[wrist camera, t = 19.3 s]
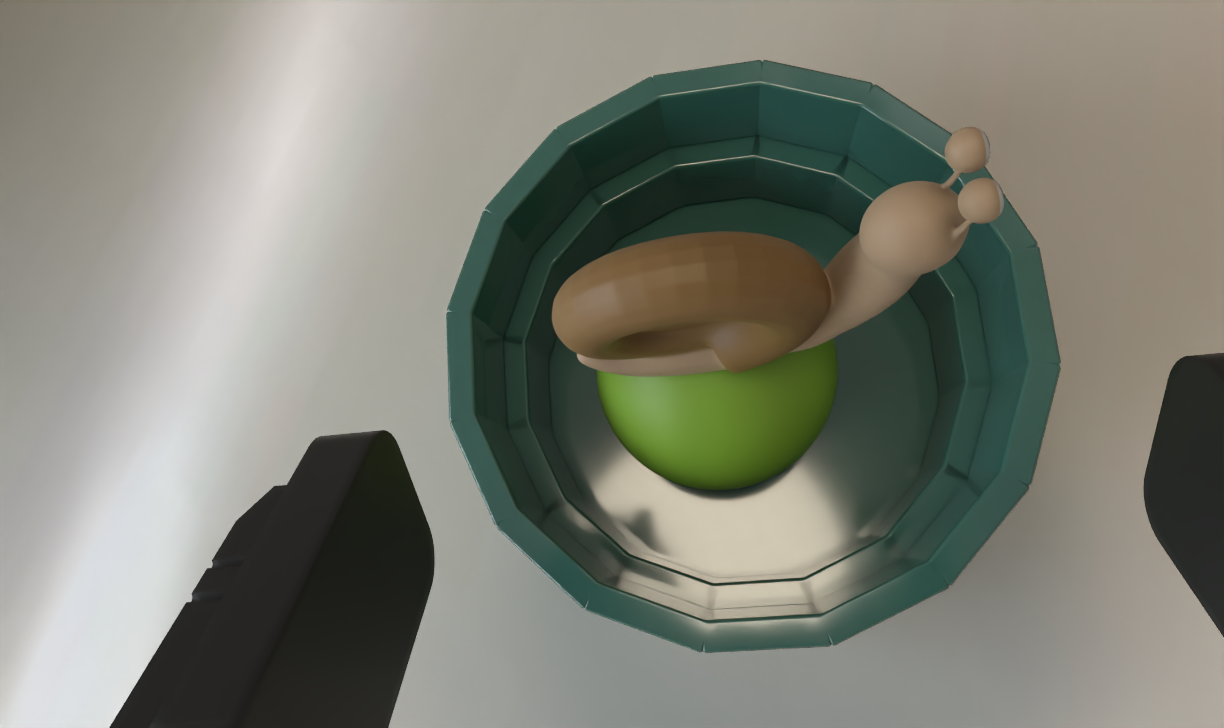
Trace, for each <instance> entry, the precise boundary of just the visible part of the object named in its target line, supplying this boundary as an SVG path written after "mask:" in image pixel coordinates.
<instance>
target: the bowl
mask: <svg viewBox="0 0 1224 728" xmlns="http://www.w3.org/2000/svg"><path fill="white" fill-rule="evenodd" d="M556 129H557V130H556ZM556 129H554V130H553V131H552V132H551V133H550V135H549V136H548V137H547V138H546V139H545V140H544V141H543V142H542V144H541V145H540V146H539V147H538V148H537V149H536V150H535V152H534V153H533V154H532V155H531V156H530V157H529V158H528V160H527V161H526V162H525V163H524V164H523V165H522V166H521V168H520V169H519V170H518V171H517V172H516V173H515V174H514V176H513V177H512V178H511V179H510V180H509V181H508V182H507V184H506V185H505V186H504V187H503V188H502V189H501V190H500V192H499V193H498V194H497V195H496V196H495V197H494V198H493V200H492V201H491V202H490V203H489V204H488V205H487V206H486V208H485V211H483V213H482V216H481V219H480V221H479V224H478V227H477V229H476V232H475V235H474V238H473V240H472V243H471V246H470V248H469V251H468V254H467V257H466V259H465V262H464V265H463V267H462V270H461V273H460V276H459V278H458V281H457V284H456V286H455V289H454V292H453V295H452V297H451V300H450V303H449V305H448V308H447V311H448V312H447V314H446V320H447V356H448V392H449V419H450V421H451V423H450V424H451V427H452V430H453V432H454V434H455V436H456V439H457V441H458V443H459V445H460V448H461V450H462V452H463V454H464V457H465V459H466V461H467V463H468V466H469V468H470V470H471V472H472V474H473V477H474V479H475V481H476V483H477V486H478V488H479V490H480V492H481V495H482V497H483V499H484V501H485V504H486V506H487V508H488V510H489V513H490V515H491V517H492V519H493V522H494V524H495V525H496V526H497V528H498V530H499V531H500V532H502V533H503V534H504V535H505V536H506V537H507V538H508V539H509V540H510V541H511V542H512V543H513V544H514V545H515V546H517V547H518V548H519V549H520V550H521V551H522V552H523V553H524V554H525V555H526V556H527V557H528V558H529V559H530V560H531V561H533V562H534V563H535V564H536V565H537V566H538V567H539V568H540V569H541V570H542V571H543V572H544V573H545V574H546V575H547V576H549V577H550V578H551V579H552V580H553V581H554V582H555V583H556V584H557V585H558V586H559V587H560V588H561V589H562V590H563V591H565V592H566V593H567V594H568V595H569V596H570V597H571V598H572V599H573V600H574V601H575V602H576V603H577V604H578V605H579V606H581V607H582V608H585V610H586V611H589V612H591V613H594V614H597V615H600V616H602V617H605V618H608V619H610V620H613V621H616V622H619V623H621V624H624V625H627V626H629V627H632V628H635V629H638V630H640V631H643V632H646V633H649V634H651V635H654V636H657V637H659V638H662V639H665V640H668V641H670V642H673V643H676V644H678V645H681V646H684V647H687V648H689V649H692V650H695V651H697V652H702V651H703V652H705V653H715V652H734V651H753V650H772V649H791V648H810V647H828V646H830V645H831V644H832V645H837V644H839V643H841V642H843V641H845V640H847V639H849V638H851V637H853V636H855V635H857V634H859V633H860V632H862V631H864V630H866V629H868V628H870V627H872V626H874V625H876V624H878V623H880V622H882V621H884V620H886V619H888V618H890V617H892V616H894V615H896V614H898V613H900V612H902V611H904V610H906V609H908V608H910V607H912V606H914V605H916V604H918V603H920V602H922V601H924V600H926V599H928V598H930V597H932V596H934V595H936V594H938V593H940V592H942V591H944V590H946V589H948V587H949V586H950V585H952V584H953V583H954V581H955V580H956V579H957V578H958V576H959V575H960V574H961V573H962V572H963V570H964V569H965V568H966V567H967V565H968V564H969V563H970V562H971V560H972V559H973V558H974V557H975V555H976V554H977V553H978V552H979V551H980V549H981V548H982V547H983V546H984V544H985V543H986V542H987V541H988V539H989V538H990V537H991V536H992V534H993V533H994V532H995V531H996V530H997V528H998V527H999V526H1000V525H1001V523H1002V522H1003V521H1004V520H1005V518H1006V517H1007V516H1008V515H1009V513H1010V512H1011V511H1012V510H1013V509H1014V507H1015V506H1016V505H1017V504H1018V502H1019V501H1020V500H1021V499H1022V497H1023V496H1024V495H1025V494H1026V492H1027V491H1028V490H1029V486H1030V485H1031V484H1032V481H1033V477H1034V473H1035V469H1036V465H1037V461H1038V457H1039V453H1040V449H1041V445H1042V441H1043V437H1044V433H1045V429H1046V425H1047V421H1048V417H1049V413H1050V409H1051V405H1052V401H1053V397H1054V393H1055V389H1056V385H1057V381H1058V377H1059V373H1060V366H1059V365H1060V363H1061V360H1060V355H1059V350H1058V344H1057V339H1056V334H1055V328H1054V323H1053V318H1052V312H1051V307H1050V302H1049V296H1048V291H1047V286H1046V280H1045V275H1044V270H1043V264H1042V259H1041V254H1040V249H1039V247H1038V246H1037V242H1036V240H1035V239H1034V237H1033V236H1032V234H1031V233H1030V231H1029V230H1028V229H1027V227H1026V226H1025V224H1024V223H1023V221H1022V220H1021V218H1020V217H1019V215H1018V214H1017V212H1016V211H1015V210H1014V208H1013V207H1012V205H1011V204H1010V202H1009V201H1008V199H1007V198H1006V196H1005V195H1004V194H1003V196H1004V208H1003V211H1002V213H1001V214H1000V215H999V216H998V218H996V219H995V220H994V221H992V222H989V223H985V224H976V223H972V224H971V225H970V226H969V231H968V233H967V236H966V238H965V240H964V243H963V245H962V247H961V248H960V250H959V252H958V253H957V254H956V255H955V256H954V257H953V258H952V259H951V260H950V261H949V262H947V263H946V264H944V265H943V266H941V267H939V268H937V269H935V270H933V271H931V272H928V273H925V274H922V275H921V276H920V277H919V278H918V279H917V281H916V282H915V283H914V284H913V286H912V287H911V288H910V289H909V290H908V291H907V292H906V293H905V294H904V295H903V296H902V297H901V298H900V299H898V300H897V301H896V302H895V303H894V304H892V305H891V306H890V307H888V308H887V309H885V310H884V311H883V312H881V313H880V314H878V315H876V316H875V317H873V318H871V319H869V320H867V321H866V322H864V323H862V324H860V325H859V326H857V327H855V328H852V329H850V330H848V331H846V332H844V333H842V334H840V335H838V336H836V337H835V338H833V339H834V343H835V347H836V353H837V363H838V379H837V388H836V394H835V398H834V402H833V406H832V409H831V412H830V414H829V417H828V419H827V421H826V423H825V425H824V427H823V429H822V431H821V432H820V434H819V435H818V437H817V438H816V440H815V441H814V443H813V444H812V445H811V446H810V448H809V449H808V450H807V451H806V452H805V453H804V454H803V455H802V456H801V457H800V458H799V459H798V460H797V461H796V462H794V463H793V464H792V465H791V466H789V467H788V468H786V469H785V470H783V471H782V472H780V473H779V474H777V475H775V476H773V477H771V478H769V479H767V480H765V481H762V482H760V483H757V484H754V485H751V486H747V487H743V488H738V489H731V490H704V489H697V488H692V487H687V486H684V485H680V484H677V483H675V482H672V481H670V480H667V479H665V478H663V477H661V476H659V475H657V474H656V473H654V472H652V471H651V470H649V469H648V468H646V467H645V466H644V465H642V464H641V463H640V462H639V461H638V460H636V459H635V458H634V457H633V456H632V455H631V454H630V453H629V452H628V451H627V450H626V448H625V447H624V446H623V445H622V444H621V442H620V441H619V439H618V438H617V437H616V435H615V433H614V432H613V430H612V428H611V427H610V425H609V423H608V421H607V418H606V416H605V414H604V411H603V408H602V405H601V401H600V397H599V393H598V387H597V376H596V369H593V368H590V367H588V366H586V365H584V364H582V363H581V362H580V361H579V360H578V358H577V353H575V352H573V351H572V350H570V349H569V348H568V347H566V346H565V345H564V343H563V342H562V341H561V340H560V339H559V337H558V336H557V334H556V332H555V330H554V327H553V323H552V308H553V302H554V299H555V297H556V295H557V293H558V291H559V289H560V288H561V287H562V285H563V284H564V282H565V281H566V280H567V279H568V278H569V277H570V276H572V275H573V274H574V273H576V272H577V271H578V270H579V269H581V268H582V267H584V266H585V265H587V264H588V263H590V262H592V261H594V260H596V259H598V258H600V257H602V256H604V255H607V254H609V253H612V252H614V251H617V250H619V249H622V248H626V247H629V246H632V245H636V244H639V243H643V242H647V241H651V240H656V239H660V238H665V237H671V236H677V235H684V234H691V233H702V232H717V231H729V232H749V233H758V234H764V235H769V236H772V237H776V238H780V239H784V240H787V241H790V242H792V243H794V244H796V245H798V246H800V247H801V248H803V249H805V250H806V251H807V252H809V253H810V254H811V255H812V256H813V257H814V258H815V259H816V260H817V261H818V263H819V264H820V266H821V267H822V269H823V270H824V269H825V267H826V266H827V265H828V264H829V263H830V261H831V260H832V259H833V258H834V257H835V255H836V254H837V253H838V252H839V251H840V250H841V249H842V248H843V247H844V246H845V245H846V244H847V243H848V242H849V241H850V240H851V239H852V238H854V237H855V236H856V235H857V234H858V233H859V231H860V225H861V221H862V218H863V216H864V214H865V212H866V210H867V209H868V207H869V206H870V205H871V203H872V202H873V201H874V200H875V199H876V198H877V197H878V196H880V195H881V194H882V193H884V192H885V191H887V190H888V189H890V188H892V187H894V186H897V185H899V184H902V183H906V182H911V181H929V182H934V183H938V184H943V183H945V182H946V181H947V180H948V179H949V178H950V177H951V176H952V175H953V173H954V172H955V171H956V170H954V169H953V168H951V167H950V166H949V164H948V163H947V161H946V158H945V146H946V144H947V141H948V140H949V138H950V137H951V136H952V134H951V133H949V132H948V131H946V130H945V129H943V128H942V127H940V126H939V125H937V124H936V123H934V122H933V121H931V120H930V119H928V118H926V117H925V116H923V115H922V114H920V113H919V112H917V111H916V110H914V109H913V108H911V107H910V106H908V105H907V104H905V103H903V102H902V101H900V100H899V99H897V98H896V97H894V96H893V95H891V94H890V93H888V92H887V91H885V90H884V89H882V88H880V87H879V86H877V85H873V84H872V83H871V82H866V81H861V80H857V79H852V78H847V77H842V76H838V75H833V74H828V73H824V72H819V71H814V70H809V69H805V68H800V67H795V66H791V65H786V64H781V63H776V62H772V61H767V60H763V62H762V61H761V60H756V61H749V62H742V63H735V64H729V65H722V66H715V67H708V68H701V69H694V70H688V71H681V72H674V73H667V74H660V75H655V76H653V78H652V77H648V78H646V79H645V80H643V81H641V82H639V83H637V84H635V85H634V86H632V87H630V88H628V89H626V90H624V91H622V92H621V93H619V94H617V95H615V96H613V97H611V98H609V99H608V100H606V101H604V102H602V103H600V104H598V105H597V106H595V107H593V108H591V109H589V110H587V111H585V112H584V113H582V114H580V115H578V116H576V117H574V118H572V119H571V120H569V121H567V122H565V123H563V124H561V125H560V126H558V127H557V128H556ZM977 178H990V179H992V180H994V179H993V177H992V176H991V175H990V173H989V172H988V170H987V169H986V167H985V166H984V167H983V168H982V169H980V170H978V171H976V172H972V173H961V174H960V176H959V177H958V178H957V179H956V181H955V182H954V183H953V184H952V185H951V186H950V188H949V189H951V190H953V191H954V192H955V193H956V194H958V195H959V194H960V192H961V190H962V188H963V187H964V186H965V185H966V184H967V183H969V182H970V181H972V180H974V179H977Z"/></svg>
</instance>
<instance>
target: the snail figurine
mask: <svg viewBox="0 0 1224 728" xmlns="http://www.w3.org/2000/svg"><path fill="white" fill-rule="evenodd" d="M945 158H946V161H947V163H948V164H949V166H950V167H951V168H953V169H954V170H956V171H955V172H954V173H953V175H952V176H951V177H950V178H949V179H948V180H947V181H946V182H945V183H943V184H938V183H934V182H929V181H911V182H906V183H902V184H899V185H897V186H894V187H892V188H890V189H888V190H887V191H885V192H884V193H882V194H881V195H880V196H878V197H877V198H876V199H875V200H874V201H873V202H872V203H871V205H870V206H869V207H868V209H867V210H866V212H865V214H864V216H863V218H862V221H861V225H860V231H859V233H858V234H857V235H856V236H855V237H854V238H852V239H851V240H850V241H849V242H848V243H847V244H846V245H845V246H844V247H843V248H842V249H841V250H840V251H839V252H838V253H837V254H836V255H835V257H834V258H833V259H832V260H831V261H830V263H829V264H828V265H827V266H826V267H825V269H824V270H823V269H822V267H821V266H820V264H819V263H818V261H817V260H816V259H815V258H814V257H813V256H812V255H811V254H810V253H809V252H807V251H806V250H805V249H803V248H801V247H800V246H798V245H796V244H794V243H792V242H790V241H787V240H784V239H780V238H776V237H772V236H769V235H764V234H758V233H749V232H729V231H717V232H702V233H691V234H684V235H677V236H671V237H665V238H660V239H656V240H651V241H647V242H643V243H639V244H636V245H632V246H629V247H626V248H622V249H619V250H617V251H614V252H612V253H609V254H607V255H604V256H602V257H600V258H598V259H596V260H594V261H592V262H590V263H588V264H587V265H585V266H584V267H582V268H581V269H579V270H578V271H577V272H576V273H574V274H573V275H572V276H570V277H569V278H568V279H567V280H566V281H565V282H564V284H563V285H562V287H561V288H560V289H559V291H558V293H557V295H556V297H555V299H554V302H553V308H552V323H553V327H554V330H555V332H556V334H557V336H558V337H559V339H560V340H561V341H562V342H563V343H564V345H565V346H566V347H568V348H569V349H570V350H572V351H573V352H575V353H577V358H578V360H579V361H580V362H581V363H582V364H584V365H586V366H588V367H590V368H593V369H596V376H597V387H598V393H599V397H600V401H601V405H602V408H603V411H604V414H605V416H606V418H607V421H608V423H609V425H610V427H611V428H612V430H613V432H614V433H615V435H616V437H617V438H618V439H619V441H620V442H621V444H622V445H623V446H624V447H625V448H626V450H627V451H628V452H629V453H630V454H631V455H632V456H633V457H634V458H635V459H636V460H638V461H639V462H640V463H641V464H642V465H644V466H645V467H646V468H648V469H649V470H651V471H652V472H654V473H656V474H657V475H659V476H661V477H663V478H665V479H667V480H670V481H672V482H675V483H677V484H680V485H684V486H687V487H692V488H697V489H704V490H731V489H738V488H743V487H747V486H751V485H754V484H757V483H760V482H762V481H765V480H767V479H769V478H771V477H773V476H775V475H777V474H779V473H780V472H782V471H783V470H785V469H786V468H788V467H789V466H791V465H792V464H793V463H794V462H796V461H797V460H798V459H799V458H800V457H801V456H802V455H803V454H804V453H805V452H806V451H807V450H808V449H809V448H810V446H811V445H812V444H813V443H814V441H815V440H816V438H817V437H818V435H819V434H820V432H821V431H822V429H823V427H824V425H825V423H826V421H827V419H828V417H829V414H830V412H831V409H832V406H833V402H834V398H835V394H836V388H837V379H838V363H837V353H836V347H835V343H834V339H833V338H835V337H836V336H838V335H840V334H842V333H844V332H846V331H848V330H850V329H852V328H855V327H857V326H859V325H860V324H862V323H864V322H866V321H867V320H869V319H871V318H873V317H875V316H876V315H878V314H880V313H881V312H883V311H884V310H885V309H887V308H888V307H890V306H891V305H892V304H894V303H895V302H896V301H897V300H898V299H900V298H901V297H902V296H903V295H904V294H905V293H906V292H907V291H908V290H909V289H910V288H911V287H912V286H913V284H914V283H915V282H916V281H917V279H918V278H919V277H920V276H921V275H922V274H925V273H928V272H931V271H933V270H935V269H937V268H939V267H941V266H943V265H944V264H946V263H947V262H949V261H950V260H951V259H952V258H953V257H954V256H955V255H956V254H957V253H958V252H959V250H960V248H961V247H962V245H963V243H964V240H965V238H966V236H967V233H968V231H969V226H970V225H971V224H972V223H976V224H985V223H989V222H992V221H994V220H995V219H996V218H998V216H999V215H1000V214H1001V213H1002V211H1003V208H1004V196H1003V192H1002V189H1001V187H1000V186H999V184H998V183H997V182H996V181H995V180H992V179H990V178H977V179H974V180H972V181H970V182H969V183H967V184H966V185H965V186H964V187H963V188H962V190H961V192H960V194H959V195H958V194H956V193H955V192H954V191H953V190H951V189H949V188H950V186H951V185H952V184H953V183H954V182H955V181H956V179H957V178H958V177H959V176H960V174H961V173H972V172H976V171H978V170H980V169H982V168H983V167H984V166H985V165H986V164H987V163H988V161H989V158H990V144H989V140H988V138H987V136H986V134H985V133H984V132H983V131H982V130H980V129H978V128H975V127H966V128H963V129H960V130H958V131H957V132H955V133H954V134H953V135H952V136H951V137H950V138H949V140H948V141H947V144H946V146H945Z"/></svg>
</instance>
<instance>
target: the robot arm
mask: <svg viewBox="0 0 1224 728" xmlns="http://www.w3.org/2000/svg"><path fill="white" fill-rule="evenodd" d="M1144 500H1145V507H1146V511H1147V515H1148V519H1149V522H1150V524H1151V527H1152V529H1153V531H1154V533H1155V536H1156V537H1157V539H1158V541H1159V542H1160V544H1161V545H1162V547H1163V548H1164V550H1165V551H1166V553H1167V554H1168V556H1169V557H1170V558H1171V560H1172V561H1173V563H1174V564H1175V566H1176V567H1177V569H1178V570H1179V572H1180V573H1181V575H1182V576H1183V578H1184V579H1185V581H1186V582H1187V584H1188V585H1189V587H1190V588H1191V590H1192V591H1193V593H1194V594H1195V595H1196V597H1197V598H1198V600H1199V601H1200V603H1201V604H1202V606H1203V607H1204V609H1205V610H1206V612H1207V613H1208V615H1209V616H1210V618H1211V619H1212V621H1213V622H1214V624H1215V625H1216V627H1217V628H1218V629H1219V631H1220V632H1221V634H1222V635H1223V637H1224V353H1216V354H1205V355H1194V356H1185V357H1183V358H1181V359H1180V360H1178V361H1177V362H1176V363H1175V365H1174V366H1173V368H1172V370H1171V372H1170V375H1169V378H1168V382H1167V386H1166V390H1165V394H1164V398H1163V402H1162V406H1161V411H1160V415H1159V419H1158V423H1157V427H1156V431H1155V435H1154V439H1153V444H1152V448H1151V452H1150V456H1149V460H1148V464H1147V468H1146V472H1145V478H1144ZM212 562H213V567H212V568H207V570H206V571H205V573H204V574H203V576H202V578H201V579H200V581H199V583H198V584H197V586H196V588H195V589H194V591H193V592H192V597H193V598H192V602H186V604H185V605H184V607H183V609H182V610H181V612H180V614H179V615H178V617H177V618H176V620H175V622H174V623H173V625H172V627H171V628H170V630H169V632H168V633H167V635H166V636H165V638H164V640H163V641H162V643H161V645H160V646H159V648H158V649H157V651H156V653H155V654H154V656H153V658H152V659H151V661H150V662H149V664H148V666H147V667H146V669H145V671H144V672H143V674H142V676H141V677H140V679H139V680H138V682H137V684H136V685H135V687H134V689H133V690H132V692H131V693H130V695H129V697H128V698H127V700H126V702H125V703H124V705H123V706H122V708H121V710H120V711H119V713H118V715H117V716H116V718H115V720H114V721H113V723H112V724H111V726H110V728H388V726H389V723H390V720H391V716H392V713H393V710H394V707H395V703H396V700H397V697H398V694H399V690H400V687H401V684H402V681H403V677H404V674H405V671H406V668H407V664H408V661H409V658H410V655H411V651H412V648H413V645H414V642H415V638H416V635H417V632H418V629H419V625H420V622H421V619H422V616H423V613H424V609H425V606H426V603H427V600H428V596H429V593H430V590H431V586H432V582H433V576H434V545H433V539H432V534H431V531H430V528H429V525H428V522H427V520H426V517H425V514H424V512H423V509H422V506H421V504H420V501H419V499H418V496H417V493H416V491H415V488H414V485H413V483H412V480H411V477H410V475H409V472H408V469H407V467H406V464H405V461H404V459H403V456H402V454H401V451H400V448H399V446H398V444H397V442H396V440H395V438H394V437H393V436H392V434H391V433H389V432H388V431H385V430H382V431H371V432H361V433H350V434H340V435H329V436H320V437H318V438H316V439H315V440H314V441H313V442H312V443H311V444H310V446H309V447H308V449H307V451H306V453H305V454H304V456H303V458H302V460H301V461H300V463H299V465H298V467H297V468H296V470H295V472H294V474H293V475H292V477H291V479H290V481H289V482H288V484H287V485H283V486H274V487H273V488H272V489H271V490H270V491H269V492H268V493H266V494H265V495H264V496H263V497H262V498H261V499H260V500H259V501H258V502H257V503H255V504H254V505H253V506H252V507H251V508H250V509H249V510H248V511H247V512H246V513H245V514H243V515H242V516H241V517H240V518H239V519H238V520H237V521H236V522H235V524H234V526H233V527H232V529H231V530H230V532H229V534H228V535H227V537H226V539H225V540H224V542H223V543H222V545H221V547H220V548H219V550H218V552H217V553H216V555H215V557H214V558H213V560H212Z"/></svg>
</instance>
